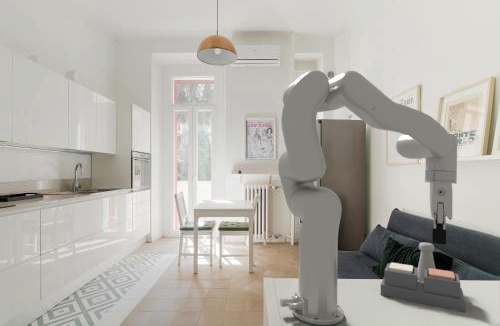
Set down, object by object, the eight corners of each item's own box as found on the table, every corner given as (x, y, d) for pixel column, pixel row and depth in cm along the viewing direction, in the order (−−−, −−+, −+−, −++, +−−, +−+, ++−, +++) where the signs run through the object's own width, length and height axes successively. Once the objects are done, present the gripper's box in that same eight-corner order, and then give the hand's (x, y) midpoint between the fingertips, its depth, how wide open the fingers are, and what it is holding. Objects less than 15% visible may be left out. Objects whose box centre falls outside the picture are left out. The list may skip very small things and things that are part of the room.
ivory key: (389, 279, 88) (389, 267, 88) (391, 273, 93) (391, 262, 93) (412, 283, 85) (412, 271, 85) (413, 277, 90) (413, 265, 90)
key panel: (380, 294, 87) (380, 270, 87) (384, 284, 96) (385, 261, 96) (465, 312, 77) (464, 284, 77) (461, 298, 85) (461, 273, 86)
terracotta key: (428, 286, 83) (428, 273, 83) (428, 280, 88) (428, 268, 88) (455, 291, 80) (455, 278, 80) (453, 284, 85) (453, 271, 85)
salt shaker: (440, 288, 93) (440, 245, 93) (420, 286, 94) (420, 244, 95) (432, 281, 99) (432, 241, 99) (413, 279, 100) (413, 240, 100)
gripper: (458, 178, 76) (457, 250, 76) (454, 178, 89) (453, 241, 89) (424, 176, 80) (423, 246, 80) (425, 177, 93) (423, 237, 92)
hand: (439, 243), depth 84 cm, fingers closed
